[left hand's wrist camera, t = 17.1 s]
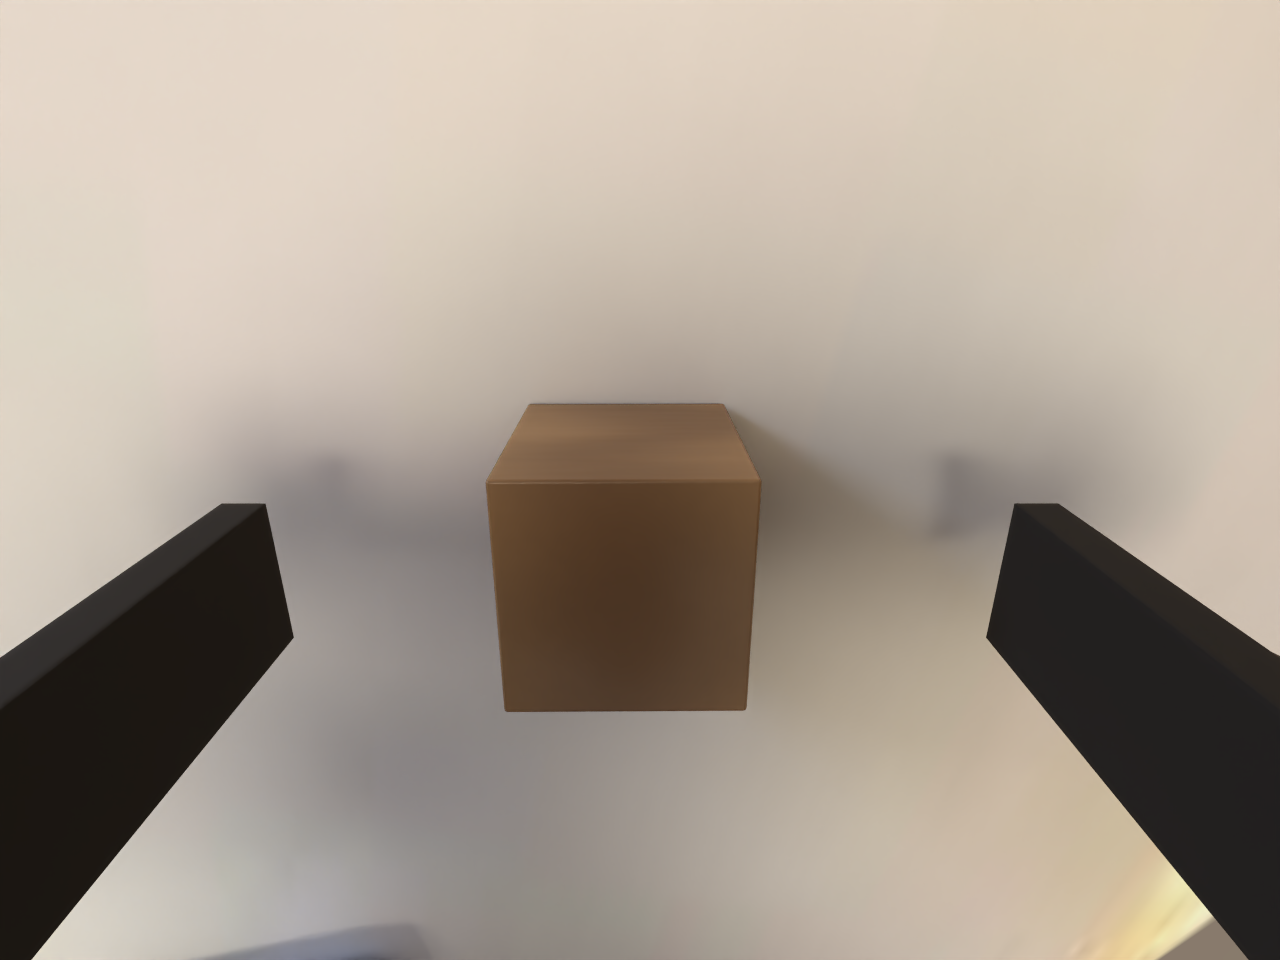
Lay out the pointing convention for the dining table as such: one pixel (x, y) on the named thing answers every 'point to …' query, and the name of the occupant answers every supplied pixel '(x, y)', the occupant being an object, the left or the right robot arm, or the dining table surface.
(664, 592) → the block
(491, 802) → the dining table surface
